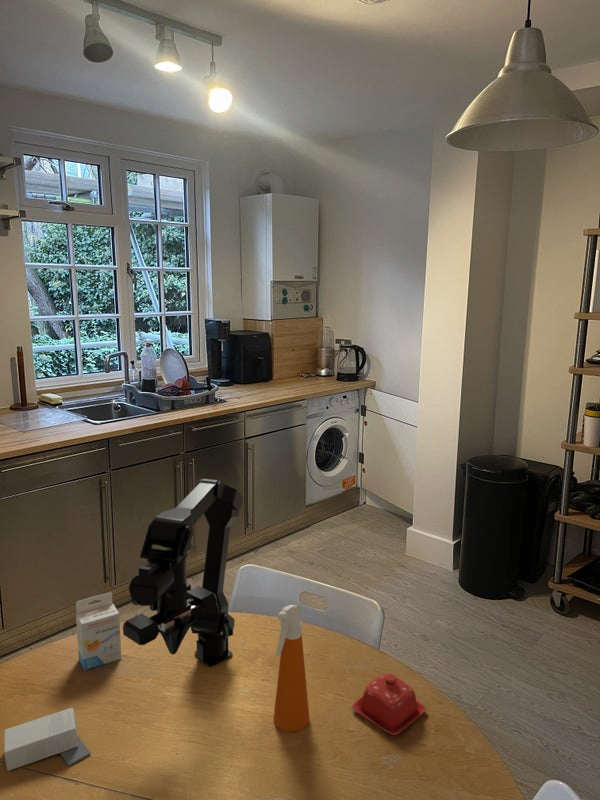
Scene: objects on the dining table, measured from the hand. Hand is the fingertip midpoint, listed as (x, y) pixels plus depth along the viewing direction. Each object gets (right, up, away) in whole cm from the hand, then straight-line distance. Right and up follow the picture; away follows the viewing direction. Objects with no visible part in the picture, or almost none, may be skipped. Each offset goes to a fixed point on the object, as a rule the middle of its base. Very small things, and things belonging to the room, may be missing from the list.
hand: (172, 653), depth 118 cm
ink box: (-20, -10, +19) cm, 29 cm away
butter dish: (+43, -14, +4) cm, 45 cm away
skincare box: (-17, -11, -5) cm, 21 cm away
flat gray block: (-17, -15, -7) cm, 24 cm away
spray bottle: (+23, -14, -1) cm, 27 cm away
